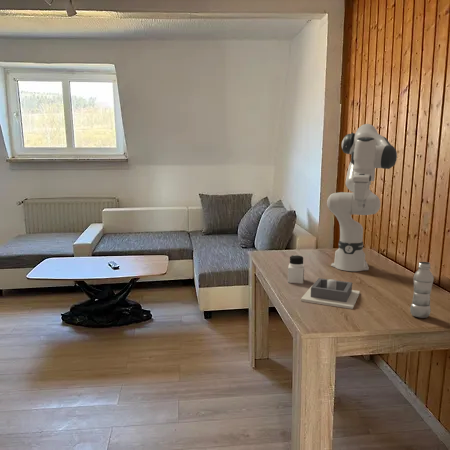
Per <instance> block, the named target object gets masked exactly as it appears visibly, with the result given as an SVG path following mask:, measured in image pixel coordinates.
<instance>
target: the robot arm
mask: <svg viewBox="0 0 450 450" xmlns="http://www.w3.org/2000/svg"><path fill="white" fill-rule="evenodd" d="M341 150H342V152H343V153H344V154H347V155H350V156H351V157H350V162H349V165H348V169H347V173H346V177H345V178H346V179H345V183H344V184H345V187H346V188H347V190H348V192H344V191H340V192H334V193H331V194H330V195H329V196H328V197H327V200H326V207H327V209H328V210H329V211H330V212H331V213H332V214H333V216H335V218H336V219H337V221H338V224H339V240H338V249H336V250H335V252H334V253H335V254H334V262H331V264H330V266H331V267H333V268H335V269H337V270H341V271H345V272H346V271H347V272H362V271H369V270H370V269H369V268H370V267H369V265H368V262H367V259H366V253H365V252H364V241H363V237H364V235H363V234H364V227H363V225H362V223H360V222H359V221H357V220H355V219H353V217H352V216H353V215H357V216H369V215H370V216H371V215H375V214H377V213H378V212H379V211H380V208H381V200H380V199H381V198H380V197H379V196H378V195H376V194H375V193H374V192H372V190H371V188H370V187H371V185H372V182H374V181H375V176H376V175H375V174H376V169H384V170H386V169H387V170H390V169H391V168H393V167H394V166H395V165H396V163H397V160H398V159H397V158H398V152H397V149H396V148H395V147H394V145H392V144H391V142H390V141H389V140H388V138H387V137H385V136H383V135H381V134H380V133H378V130H377V128H376V127H375V126H374V125H373V124H370V123H364V124H361V126H359V127H357V130H356V131H355V133H354V132H351V133H347V134H345V136H344V137H343V139H342V141H341ZM349 191H350V192H349Z"/></svg>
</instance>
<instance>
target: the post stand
mask: <svg viewBox="0 0 450 450" xmlns="http://www.w3.org/2000/svg"><path fill="white" fill-rule="evenodd" d="M312 286H313V284H311V286H310V287H309V288H308V290H307V291H306V292H305V293H304V294H303V296H302V297H301V298H300V302H305V303H309V304H310V303H311V304H317V305H324V306H332V307H336V308H337V307H338V308H341V309H342V308H343V309H350V310H353V309H354V307H355V305H356V302H357V300H358V298H359V296H360V291H361V290H356V289H355V290H354V289H352V292H351V294H350V296H349V298H348V300H347V302H341V301H334V300H328V299H321V298H314V297H311V287H312ZM327 289H334V290H336V279H329V280H327Z"/></svg>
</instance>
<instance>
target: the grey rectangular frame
mask: <svg viewBox="0 0 450 450" xmlns="http://www.w3.org/2000/svg"><path fill="white" fill-rule="evenodd" d="M327 280H329V279H327V278H320V277H319V278H317V279H316V281H315V282H314V283H313V284H312V285H313V286H312V285H311V286H312V287H311V286H310V287H311V297H314V298H321V299H328V300H334V301H341V302H347V300H348V298H349V296H350V294H351V292H352V290H353V282H352V281H351V282H350V281H344V280H342V281H341V280H336V279H335V280H336V290H334V289H327Z"/></svg>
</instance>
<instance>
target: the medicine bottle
mask: <svg viewBox="0 0 450 450" xmlns="http://www.w3.org/2000/svg"><path fill="white" fill-rule="evenodd" d="M304 276H305V264H304V257H303V256H302V255H299V254H294V255H290V256H289V264H288V267H287V283H289V284H300V285H301V284H305V283H304V282H305V277H304Z"/></svg>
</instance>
